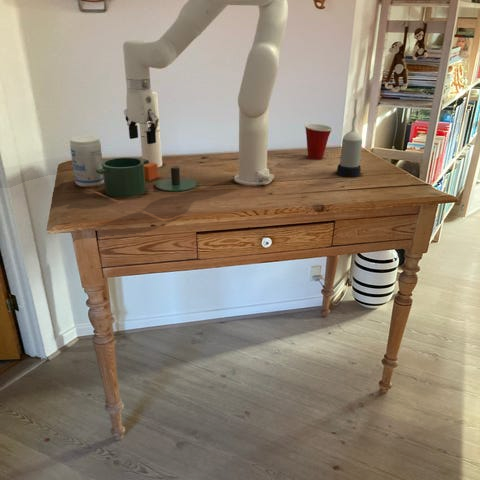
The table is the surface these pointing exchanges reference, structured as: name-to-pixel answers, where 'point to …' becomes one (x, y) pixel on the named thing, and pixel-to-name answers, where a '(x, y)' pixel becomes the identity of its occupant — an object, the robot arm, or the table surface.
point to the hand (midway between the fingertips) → (142, 140)
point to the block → (150, 171)
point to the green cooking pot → (123, 176)
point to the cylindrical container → (153, 150)
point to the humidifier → (351, 151)
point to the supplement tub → (86, 160)
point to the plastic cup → (317, 139)
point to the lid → (175, 182)
